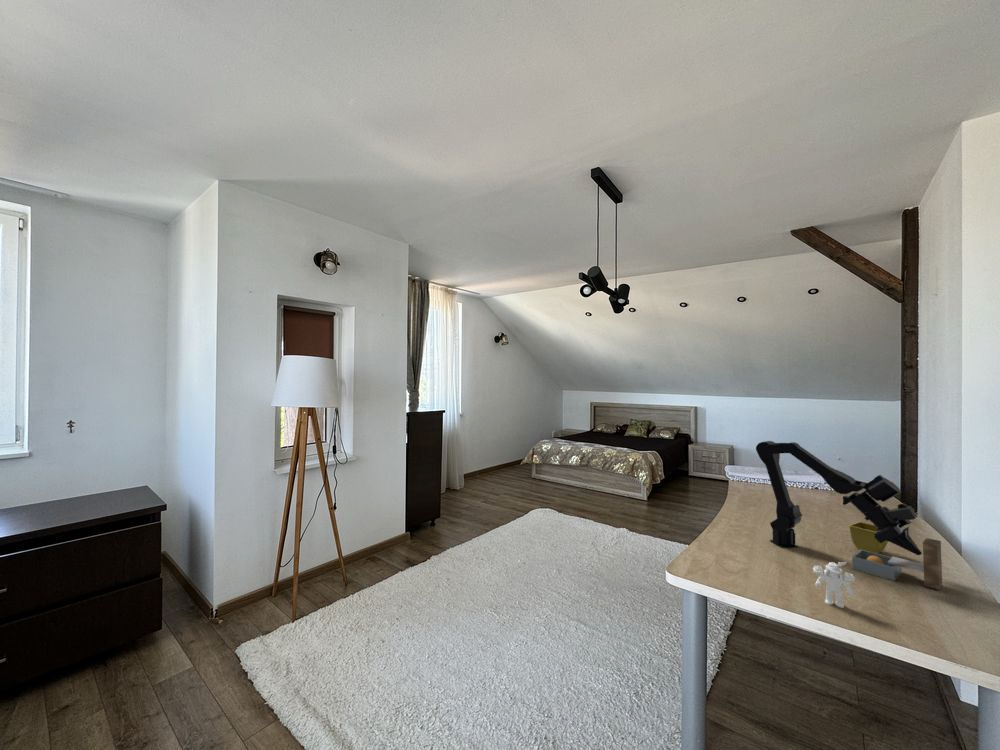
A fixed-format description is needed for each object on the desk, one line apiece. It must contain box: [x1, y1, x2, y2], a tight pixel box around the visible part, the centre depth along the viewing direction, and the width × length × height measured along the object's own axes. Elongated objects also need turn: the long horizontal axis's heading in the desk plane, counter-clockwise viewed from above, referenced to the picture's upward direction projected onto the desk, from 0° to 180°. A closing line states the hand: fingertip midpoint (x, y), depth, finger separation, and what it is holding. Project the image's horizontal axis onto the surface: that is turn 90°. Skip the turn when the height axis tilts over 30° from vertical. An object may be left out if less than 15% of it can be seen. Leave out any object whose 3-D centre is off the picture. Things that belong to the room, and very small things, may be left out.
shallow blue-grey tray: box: [851, 549, 903, 581], centre depth 130 cm, size 10×10×4 cm
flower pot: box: [848, 521, 888, 554], centre depth 145 cm, size 9×9×9 cm
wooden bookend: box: [888, 537, 943, 591], centre depth 123 cm, size 11×6×13 cm, turn 36°
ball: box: [867, 556, 883, 564], centre depth 130 cm, size 4×4×4 cm
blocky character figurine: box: [812, 561, 856, 609], centre depth 110 cm, size 9×4×12 cm, turn 48°
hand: (920, 554), depth 122 cm, fingers closed
